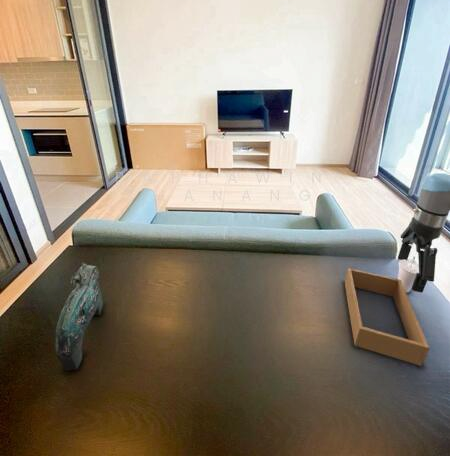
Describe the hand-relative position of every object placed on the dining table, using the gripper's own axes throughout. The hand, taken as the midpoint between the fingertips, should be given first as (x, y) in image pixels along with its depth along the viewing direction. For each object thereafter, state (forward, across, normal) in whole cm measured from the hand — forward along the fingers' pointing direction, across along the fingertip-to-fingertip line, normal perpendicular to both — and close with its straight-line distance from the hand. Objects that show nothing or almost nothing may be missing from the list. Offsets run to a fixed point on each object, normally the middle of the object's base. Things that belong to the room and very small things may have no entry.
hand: (408, 274), depth 82 cm
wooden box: (+6, +15, -12) cm, 20 cm away
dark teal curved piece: (+6, +46, -92) cm, 103 cm away
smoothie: (+7, 0, 0) cm, 7 cm away
